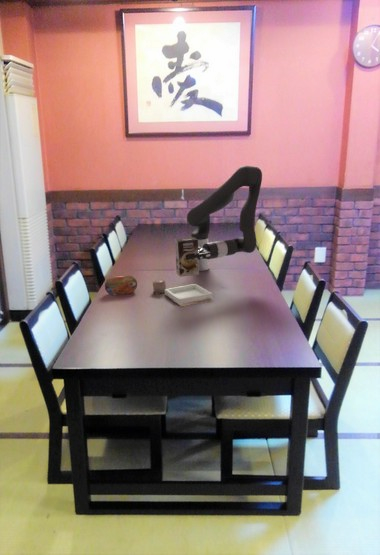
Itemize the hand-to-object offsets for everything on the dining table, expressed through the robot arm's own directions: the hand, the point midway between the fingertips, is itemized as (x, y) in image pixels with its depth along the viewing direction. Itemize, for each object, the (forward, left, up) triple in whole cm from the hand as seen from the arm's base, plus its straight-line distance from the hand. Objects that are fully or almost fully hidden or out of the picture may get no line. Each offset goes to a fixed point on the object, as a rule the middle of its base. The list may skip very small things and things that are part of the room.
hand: (182, 255), depth 207 cm
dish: (0, +2, -20) cm, 20 cm away
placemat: (0, +2, -20) cm, 20 cm away
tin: (-22, -22, -20) cm, 37 cm away
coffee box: (0, +2, -9) cm, 9 cm away
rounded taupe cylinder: (-14, -6, -20) cm, 25 cm away
